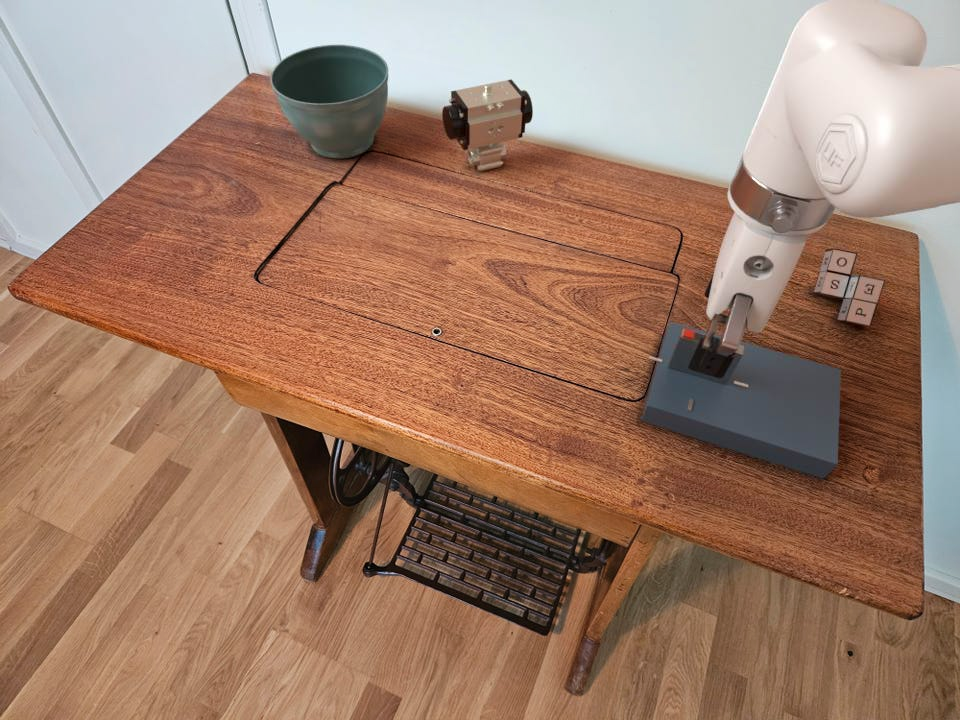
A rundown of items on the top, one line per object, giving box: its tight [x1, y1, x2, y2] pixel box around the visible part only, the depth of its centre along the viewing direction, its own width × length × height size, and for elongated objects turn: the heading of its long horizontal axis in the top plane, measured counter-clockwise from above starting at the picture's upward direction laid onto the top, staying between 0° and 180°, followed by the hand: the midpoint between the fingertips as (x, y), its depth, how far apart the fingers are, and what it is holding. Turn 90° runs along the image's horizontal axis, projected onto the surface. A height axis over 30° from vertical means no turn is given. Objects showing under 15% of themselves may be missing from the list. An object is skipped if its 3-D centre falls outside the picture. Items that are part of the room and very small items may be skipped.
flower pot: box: [269, 44, 389, 159], centre depth 90 cm, size 16×16×11 cm
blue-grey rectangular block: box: [640, 321, 842, 480], centre depth 64 cm, size 19×12×3 cm, turn 69°
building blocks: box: [812, 247, 886, 327], centre depth 72 cm, size 5×5×8 cm
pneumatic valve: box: [441, 79, 534, 172], centre depth 86 cm, size 6×12×12 cm, turn 112°
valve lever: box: [668, 329, 744, 385], centre depth 62 cm, size 6×1×5 cm, turn 69°
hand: (712, 333), depth 60 cm, fingers open, 9 cm apart
